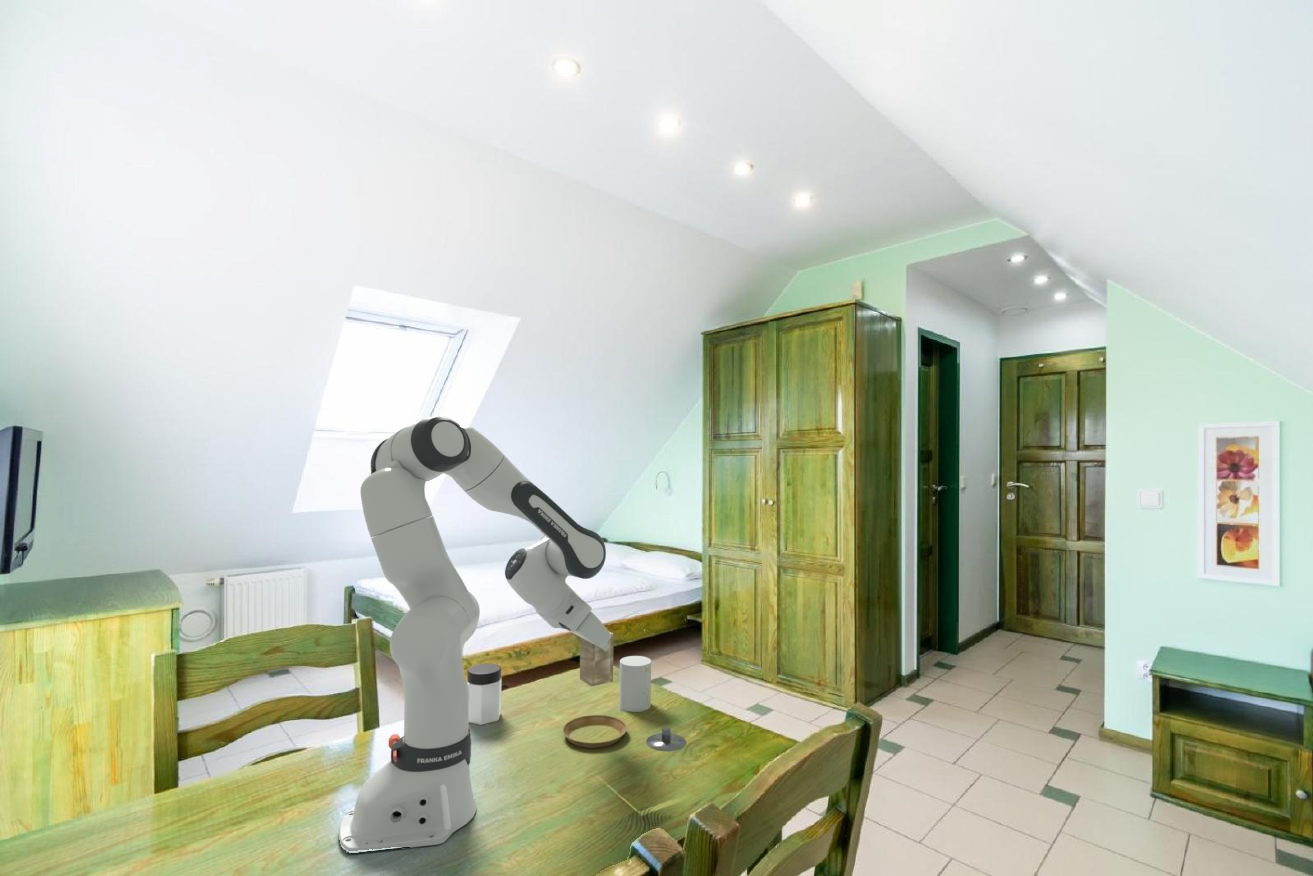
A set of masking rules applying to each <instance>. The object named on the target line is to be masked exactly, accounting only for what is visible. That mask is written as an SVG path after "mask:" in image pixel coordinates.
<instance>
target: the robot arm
mask: <svg viewBox="0 0 1313 876" xmlns="http://www.w3.org/2000/svg"><path fill="white" fill-rule="evenodd" d="M443 474H445V475H447V476H449V477H451V478H452V479H453V481H454V482H455V483H456V484H457V486H458V487H460V488H461V489H462V490H463V491H464V493H466V495H468V497H470V498H471V499H472V500H473V501H474V502H476V503H477V504H479V505H481V506H482V507H484V508H485V509H486V510H489V511H492V512H497V513H502V514H507V515H511V516H513V517H517V518H520V519H522V520H524V521H526V522H528V523H530V524H531V525H532V526H534V527H535V528H536V529H537V530H538V531H540V533H542V534H543V535H544V536H543V537H542V538H541V539H540V540H539V541H536V543H534V544H531V545H530V546H527V547H524V548H523V547H522V548H520V549H518V550H516V551H515V552H514V553H513V554H512V555H511V556H510V558H509V559H508V561H507V563H506V565H505V568H504V575H505V580H506V581H507V583H508V584H509V586H510V587H511V588H512V590H514V592H515V593H516V594H517V595H518V596H519V598H521V599H522V600H523V602H525V603H526V604H527V605H531V606H532V607H533V609H534V610H535V612H536V613H537V614H538V616H539V617H541V618H542V620H544V621H545V622H546V623H547V624H548V625H549V626H550V627H551V628H553V629H563V630H567V631H568V632H571V633H572V634H574V635H576V636H577V637H579V638H580V637H581V638H583V639H585V640H587V641H588V642H590V643H592V644H594V645H596V646H597V647H599V648H601V649H602V650H603V651H607V650H608V648H609V647H610V645H609V644H608V643H607V642H608V640H609V639H610V637H611V635H610V632H611V631H610V630H609V629H608V628H607V627H606V626H605V625H604V623H603V622H602V621H601V620H600V619H599V618H598V617H597V615H596V614H595V613H594V612H592V606H591V605H590V604H588V603H587V602H586V601H585V600H583V599H582V598H581V597H580V595H579V594H577V592H576V591H575V590H573V589H572V588H571V586H569V585H568V583H566V581H567V580H566V579H567V577H574V578H580V579H583V580H584V579H585V580H586V579H592V578H594V577H595V576H596V575H597V574H599V573H600V571H601V570H602V568H603V566H604V565H605V562H606V559H607V558H606V556H607V549H606V545H605V542H604V539H603V537H602V536H601V535H600V534H598V533H597V532H595V531H594V530H591V529H588V528H586V527H583V526H582V525H580V524H579V523H577V522H576V521H575V520H574V519H573V518H572V517H571V516H570V515H569V514H568V513H567V512H566V511H564V509H562V507H560V505H558V504H557V503H556V502H555V501H554V500H553V499H552V498H550V497H549V495H547V494H546V493H545V492H544V491H542V490H541V489H540V488H539V487H538V486H537V485H536V484H534V483H533V482H532V481H531V480H530V479H529V478H528V477H526V475H525V474H523V473H522V472H521V471H520V470H519V469H518V467H516V466H515V465H514V463H512V462H511V461H510V460H509V458H508V457H506V455H505V454H504V453H503V452H502V450H500V449H499V448H498V447H497V446H496V445H495V444H493V442H491V441H490V440H489V439H488V437H486V436H484V435H483V434H482V433H481V432H479V431H478V430H477V429H475V428H474V427H472V426H469V425H467V424H466V425H465V424H463V425H460V424H459V423H458V422H456V421H455V420H453V419H451V418H449V417H446V416H441V415H439V416H430V417H426V418H423V419H422V420H419V421H418V422H416V423H414V424H412V425H410V426H406V427H403V428H401V429H400V430H398V431H397V432H395V433H394V434H393V435H392V434H391V436H389V438H386V439H384V440H382V442H380V443H379V444H378V445H377V447H376V448H375V449H374V451H373V453H372V455H371V459H370V474H369V475H368V476H367V477H366V478H365V479H364V481H362V483H361V487H360V497H361V498H360V499H361V507H362V510H363V516H364V520H365V524H366V527H367V530H368V532H369V533H368V534H369V537H370V538H371V542H372V544H373V548H374V550H375V553H376V555H377V558H378V561H379V564H380V567H381V570H382V572H383V575H384V577H385V579H386V580H387V581H388V582H389V584H391V585H393V586H394V588H395V589H396V590H397V591H398V593H400V594H399V595H401V596H402V598H403V599H404V601H405V602H406V604H407V606H408V608H409V610H408V611H407V612H406V613H404V614H403V616H402V617H401V618H400V619H399V621H398V623H396V626H395V627H394V629H393V631H392V634H391V636H390V640H389V651H390V656H391V657H392V659H393V661H394V663H395V664H396V665H397V666H398V669H399V673H400V674H399V675H400V678H401V683H402V688H403V696H404V697H403V698H404V700H403V701H404V707H403V708H404V709H403V711H404V712H403V713H404V714H403V715H404V716H403V717H404V718H403V720H404V721H403V736H400V735H399V734H396V733H394V734H392V735H390V737H389V738H388V740H387V741H388V747H389V749H390V761H388V762H387V763H386V764H385V765H384V766H383V767H381V768H380V769H379V770H378V771H377V772H375V773H374V774H372V775H371V776H370V777H369V778H367V779H366V780H365V782H364V783H363V784H362V786H361V787H360V790H359V792H358V794H357V797H356V801H355V805H354V806H352V807H351V808H350V809H349V810H348V811H347V812H346V813H345V814H344V816H343V818H342V819H341V822H340V825H339V829H338V830H339V831H338V840H339V839H340V842H341V845H342V846H343V847H344V848H345V849H346V850H348V851H358V850H369V849H372V850H373V849H382V848H391V847H410V848H418V847H426V846H436V845H441V844H443V843H445V841H447V840H448V839H449V838H450V837H451V835H452V834H453V833H455V832H456V831H457V830H459V829H461V828H462V827H464V826H465V825H467V824H468V823H469V822H470V821H471V820H472V819H473V818H474V816H475V814H476V811H477V803H476V801H475V797H474V793H473V788H472V781H471V780H472V779H471V774H470V764H471V758H472V734H471V733H472V732H471V729H470V728H469V726H470V724H469V723H470V722H469V686H468V684H467V681H466V676H465V671H464V670H465V669H464V665H463V663H464V662H463V650H464V647H465V644H466V643H467V642H468V640H470V639H471V637H472V636H473V635H474V633H475V632H476V630H477V627H478V624H479V619H480V614H481V612H480V611H481V610H480V605H479V602H478V600H477V598H476V597H475V596H474V595H473V594H472V593H471V592H470V591H469V589H468V588H467V587H466V586H467V585H466V584H465V582H464V581H463V579H462V577H461V576H460V574H459V573H458V571H457V569H456V568H455V566H454V564H453V562H452V561H451V559H450V557H449V555H448V552H447V550H446V548H445V544H444V542H443V539H442V537H441V534H440V531H439V528H438V526H437V523H436V520H435V518H434V515H433V512H432V510H431V507H430V505H429V503H428V500H427V499H426V498H427V497H426V494H425V493H426V492H425V488H426V487H425V485H426V482H428V481H429V482H430V481H432V480H435V479H436V478H438V477H439V476H441V475H443ZM348 815H352V816H348ZM347 841H348V842H347Z"/></svg>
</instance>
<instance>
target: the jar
mask: <svg viewBox="0 0 1313 876" xmlns="http://www.w3.org/2000/svg"><path fill="white" fill-rule="evenodd" d="M466 677H467V681H466V683H467V684H468V686H469V723H470V724H475V725H481V726H483V725H486V724H489V723H494V722H497V721H500V717H501V713H502V681H503V679H502V678H503V677H502V666H501V665H500V664H496V663H479V664H475V665H472V666H470V667H469V668H468V669H467V675H466Z"/></svg>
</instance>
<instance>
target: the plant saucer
mask: <svg viewBox="0 0 1313 876" xmlns="http://www.w3.org/2000/svg"><path fill="white" fill-rule="evenodd" d="M598 725H599V726H606V727H610V728H612V729H615V730H616V731H618V732H619V734H620V735H619V736H617V737H616V738H613V739H610V740H606V741H598V742H588V741H579V740H576V739H573V738H571V737H570V734H571V733H572V732H573V731H575V730H578V729H579V728H582V727H588V726H598ZM627 729H628V726H627V724H626V722H625V721H623V720H621V719H620V718H618V717H615V716H611V715H606V714H605V715H604V714H591V715H583V716H582V715H581V716H579V717H575V718H573V719H571V720H569V721H567V722H566V723H565V724H564V725H563V727H562V734H563V736H564V737H565V738H566V739H567V740H568V741H569V742H570V743H571V744H573V745H574V746H577V747H581V748H589V749H598V748H605V747H609V746H612V745H614V744H615V743H617V742H619V741H620V739H622V737H623V736H624V735H625V734H626V732H627Z"/></svg>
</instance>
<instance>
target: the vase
mask: <svg viewBox="0 0 1313 876" xmlns="http://www.w3.org/2000/svg"><path fill="white" fill-rule="evenodd" d="M609 632H610V635H611V637H610V639H609V640H608V642H607V643H608V644H609V645H610V647H609V648H608V650H607V651H603V650H602V649H601V648H599V647H597V646H596V645H594V644H592V643H590V642H588V641H587V640H585V639H583V638H581V637H579V638H580V639H579V640H580V642H579V645H580V646H579V647H580V648H579V649H580V650H579V680H580V681H582V682H584V683H586V685H588V686H590V687H595V686H600V685H604V684H608V683H613V682H614V632H611V631H609Z"/></svg>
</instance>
